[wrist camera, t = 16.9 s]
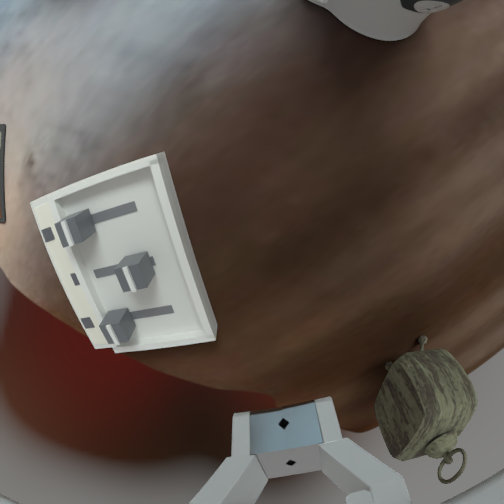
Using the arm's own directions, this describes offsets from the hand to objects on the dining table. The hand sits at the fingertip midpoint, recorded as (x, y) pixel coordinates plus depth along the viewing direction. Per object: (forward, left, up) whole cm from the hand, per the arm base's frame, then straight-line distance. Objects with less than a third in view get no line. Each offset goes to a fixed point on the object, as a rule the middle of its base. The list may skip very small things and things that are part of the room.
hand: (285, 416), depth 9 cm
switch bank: (+4, -19, -29) cm, 35 cm away
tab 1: (-3, -21, -27) cm, 34 cm away
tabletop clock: (+32, +18, -29) cm, 47 cm away
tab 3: (+11, -21, -27) cm, 36 cm away
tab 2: (+4, -15, -27) cm, 31 cm away
